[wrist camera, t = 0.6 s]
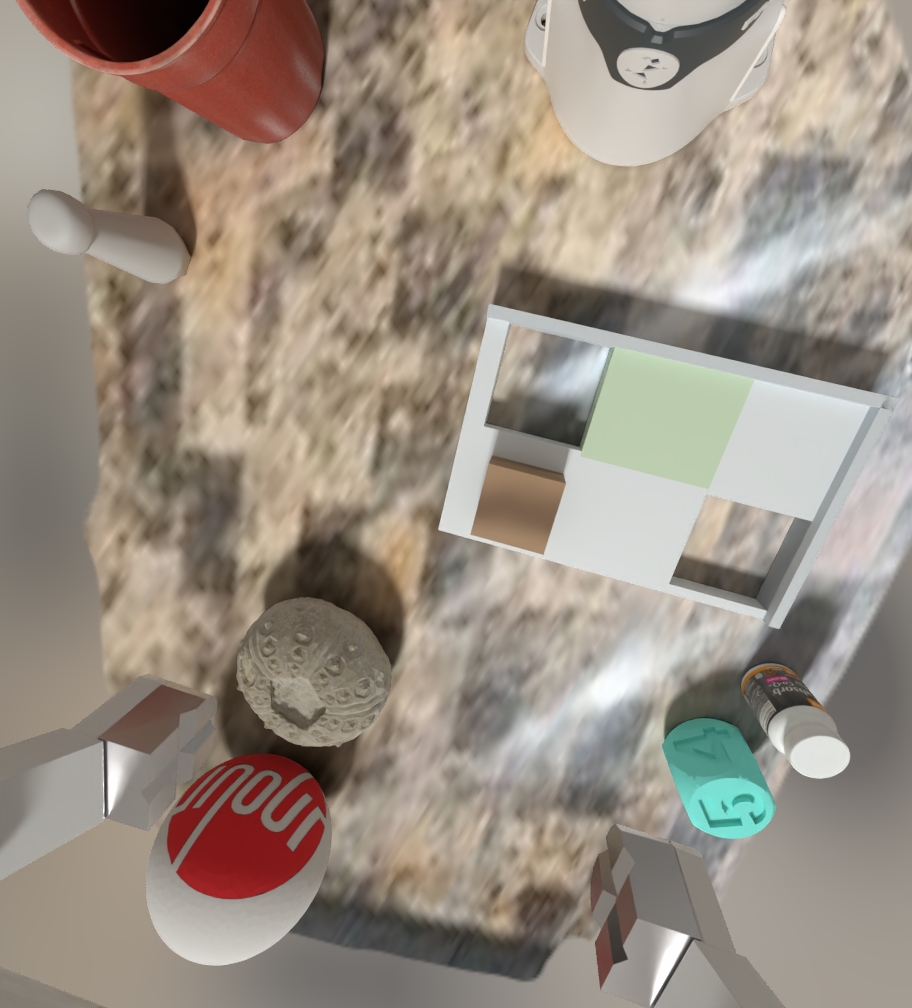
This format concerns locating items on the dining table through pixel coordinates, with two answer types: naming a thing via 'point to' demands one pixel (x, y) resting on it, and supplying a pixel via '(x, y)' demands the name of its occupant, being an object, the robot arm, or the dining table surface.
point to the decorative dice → (718, 778)
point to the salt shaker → (109, 236)
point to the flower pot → (200, 54)
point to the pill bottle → (795, 720)
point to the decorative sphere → (238, 859)
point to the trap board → (676, 459)
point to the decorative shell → (313, 672)
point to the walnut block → (518, 504)
